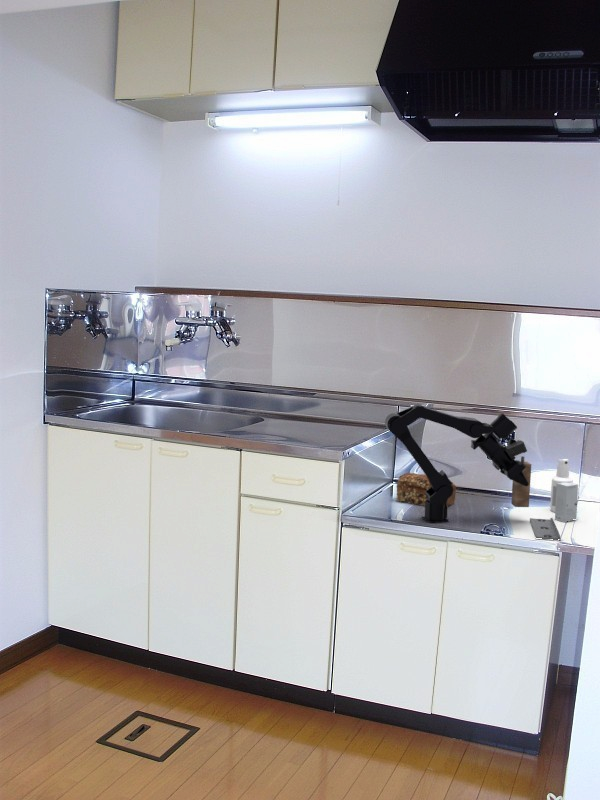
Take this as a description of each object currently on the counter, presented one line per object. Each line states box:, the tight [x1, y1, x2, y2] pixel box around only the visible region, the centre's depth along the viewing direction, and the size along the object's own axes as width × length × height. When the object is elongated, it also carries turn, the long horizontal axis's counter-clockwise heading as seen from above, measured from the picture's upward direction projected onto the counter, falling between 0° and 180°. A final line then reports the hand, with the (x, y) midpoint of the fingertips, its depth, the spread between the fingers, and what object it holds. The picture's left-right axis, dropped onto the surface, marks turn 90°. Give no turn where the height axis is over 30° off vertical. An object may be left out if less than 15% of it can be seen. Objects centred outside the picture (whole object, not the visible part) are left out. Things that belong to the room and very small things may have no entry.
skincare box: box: [554, 482, 579, 523], centre depth 272 cm, size 6×4×12 cm
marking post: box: [510, 456, 532, 508], centre depth 268 cm, size 4×4×16 cm
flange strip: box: [529, 517, 561, 541], centre depth 259 cm, size 22×7×1 cm, turn 169°
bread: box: [396, 472, 457, 507], centre depth 292 cm, size 19×11×10 cm, turn 58°
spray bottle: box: [549, 458, 574, 513], centre depth 283 cm, size 7×7×18 cm
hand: (525, 483), depth 268 cm, fingers closed on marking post, 4 cm apart
